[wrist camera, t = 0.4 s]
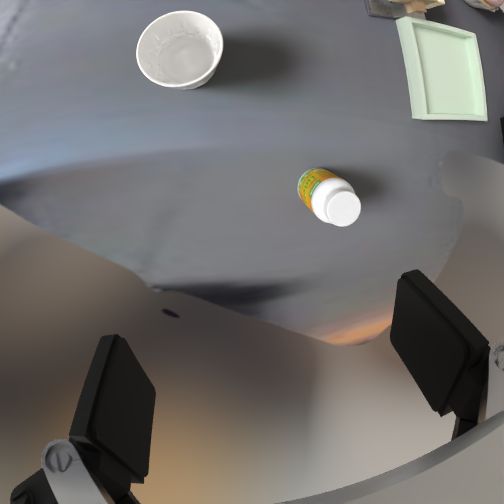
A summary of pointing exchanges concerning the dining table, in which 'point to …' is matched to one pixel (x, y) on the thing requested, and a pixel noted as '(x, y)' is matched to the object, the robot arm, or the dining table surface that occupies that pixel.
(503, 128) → the digital camera
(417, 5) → the wooden square frame
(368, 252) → the dining table surface
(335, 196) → the supplement bottle
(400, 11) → the grey stand
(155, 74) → the white cup
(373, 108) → the dining table surface
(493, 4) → the cupcake
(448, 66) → the tray
